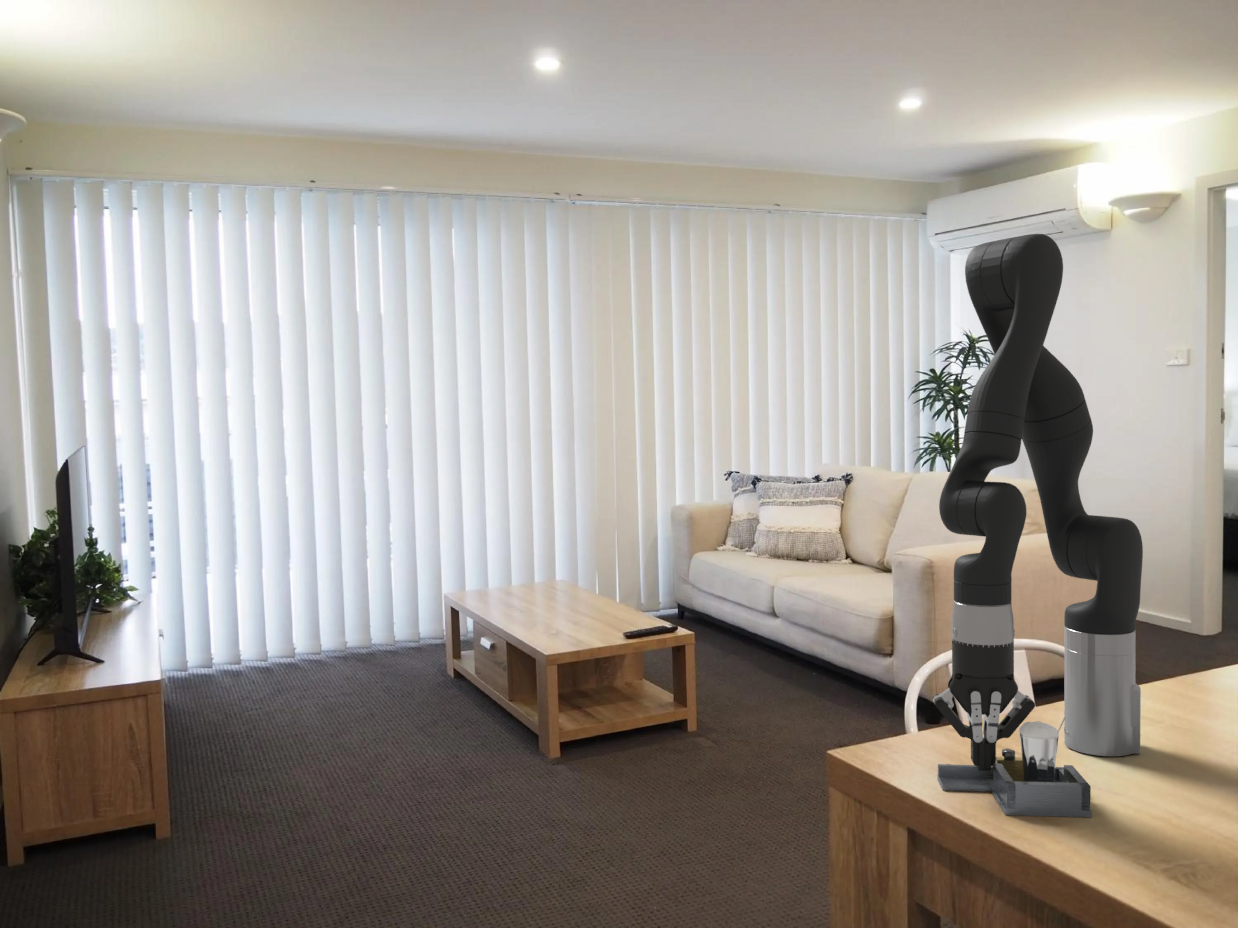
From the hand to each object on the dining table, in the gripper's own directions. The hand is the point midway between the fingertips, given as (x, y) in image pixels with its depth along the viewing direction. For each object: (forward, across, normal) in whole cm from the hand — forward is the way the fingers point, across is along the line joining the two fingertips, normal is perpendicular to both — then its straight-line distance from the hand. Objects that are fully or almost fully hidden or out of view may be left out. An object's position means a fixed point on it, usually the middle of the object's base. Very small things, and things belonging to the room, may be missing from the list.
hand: (983, 768), depth 135 cm
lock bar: (+1, -5, 0) cm, 5 cm away
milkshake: (+2, -6, +4) cm, 8 cm away
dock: (+3, -3, +3) cm, 5 cm away
